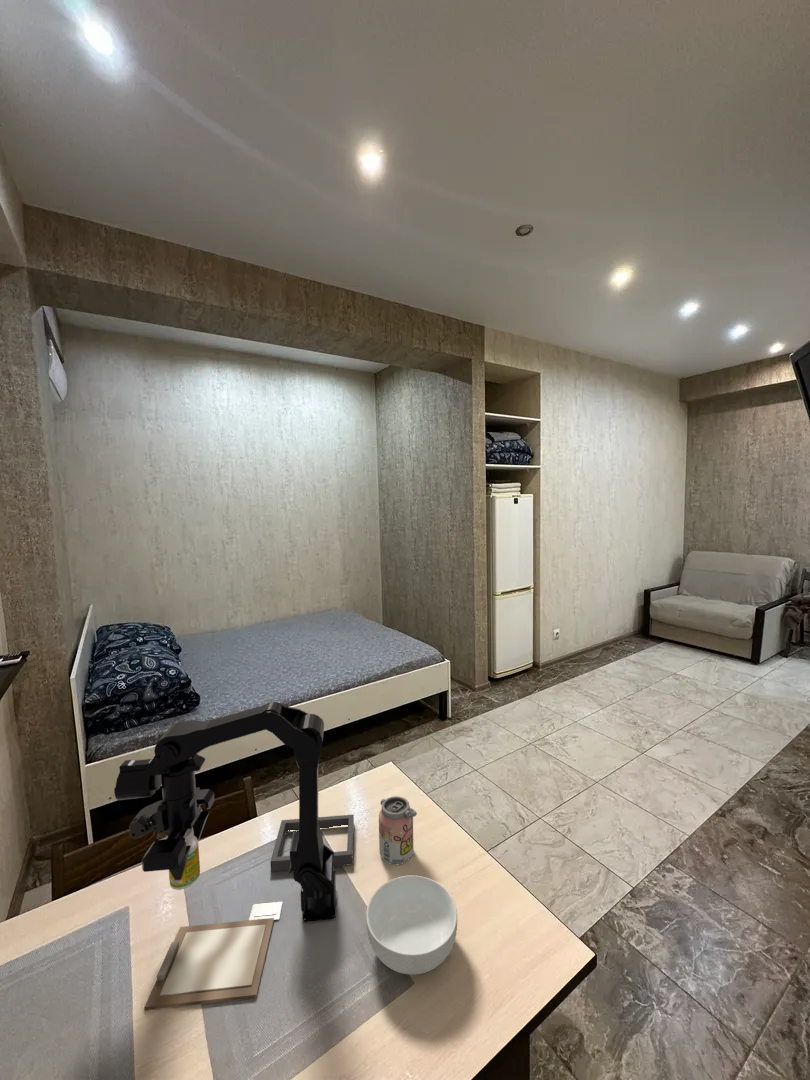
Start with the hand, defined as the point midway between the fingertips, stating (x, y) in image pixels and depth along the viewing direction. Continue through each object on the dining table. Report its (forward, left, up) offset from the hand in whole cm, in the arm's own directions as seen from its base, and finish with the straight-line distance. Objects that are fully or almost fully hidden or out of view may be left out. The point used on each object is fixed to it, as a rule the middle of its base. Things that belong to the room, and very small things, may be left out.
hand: (184, 867), depth 86 cm
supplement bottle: (0, 0, -3) cm, 3 cm away
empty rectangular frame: (-23, -18, -12) cm, 32 cm away
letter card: (-15, -1, -12) cm, 19 cm away
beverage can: (-43, -14, -12) cm, 47 cm away
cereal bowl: (-44, +9, -12) cm, 47 cm away
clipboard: (-8, +8, -12) cm, 16 cm away
